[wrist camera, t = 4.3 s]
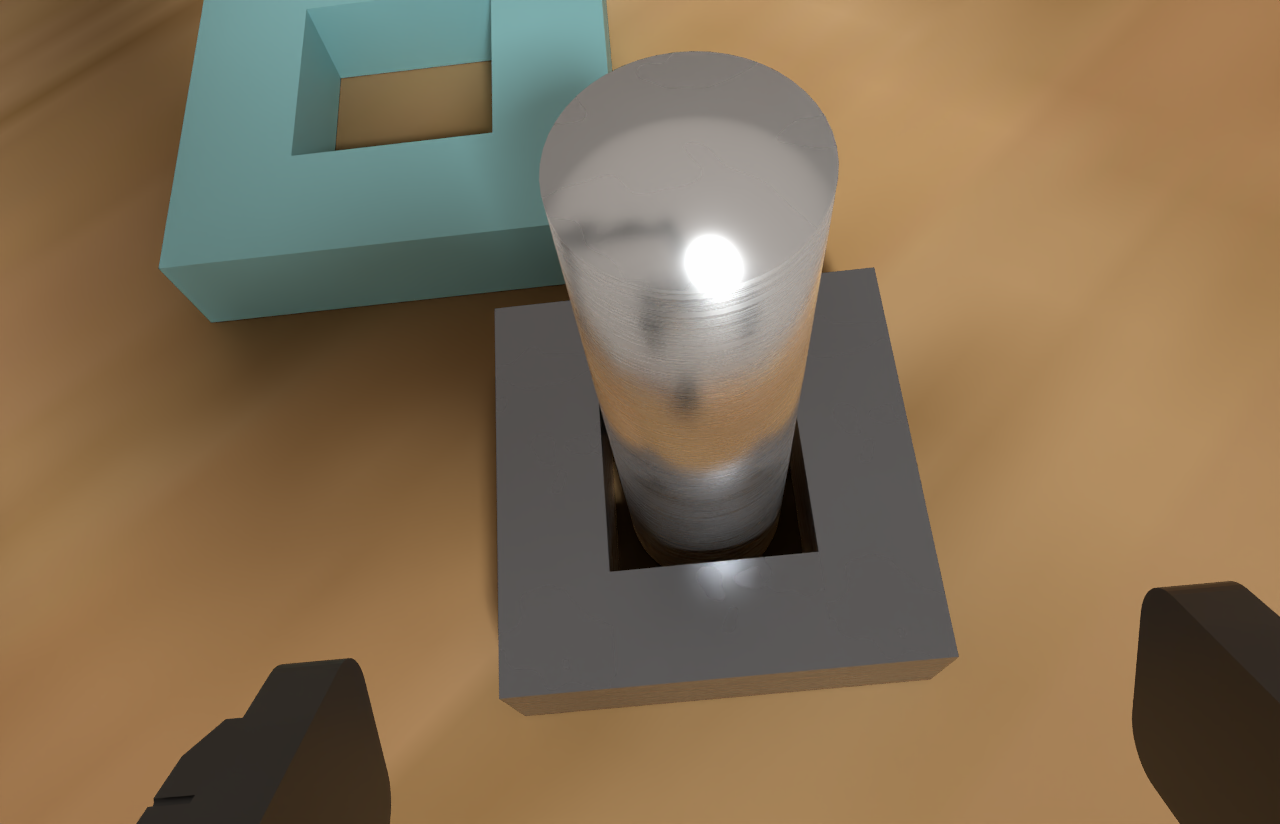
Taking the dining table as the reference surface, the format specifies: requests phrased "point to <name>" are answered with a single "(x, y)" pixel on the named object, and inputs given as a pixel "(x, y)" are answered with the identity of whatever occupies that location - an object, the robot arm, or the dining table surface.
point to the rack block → (367, 154)
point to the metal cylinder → (694, 284)
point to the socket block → (724, 590)
